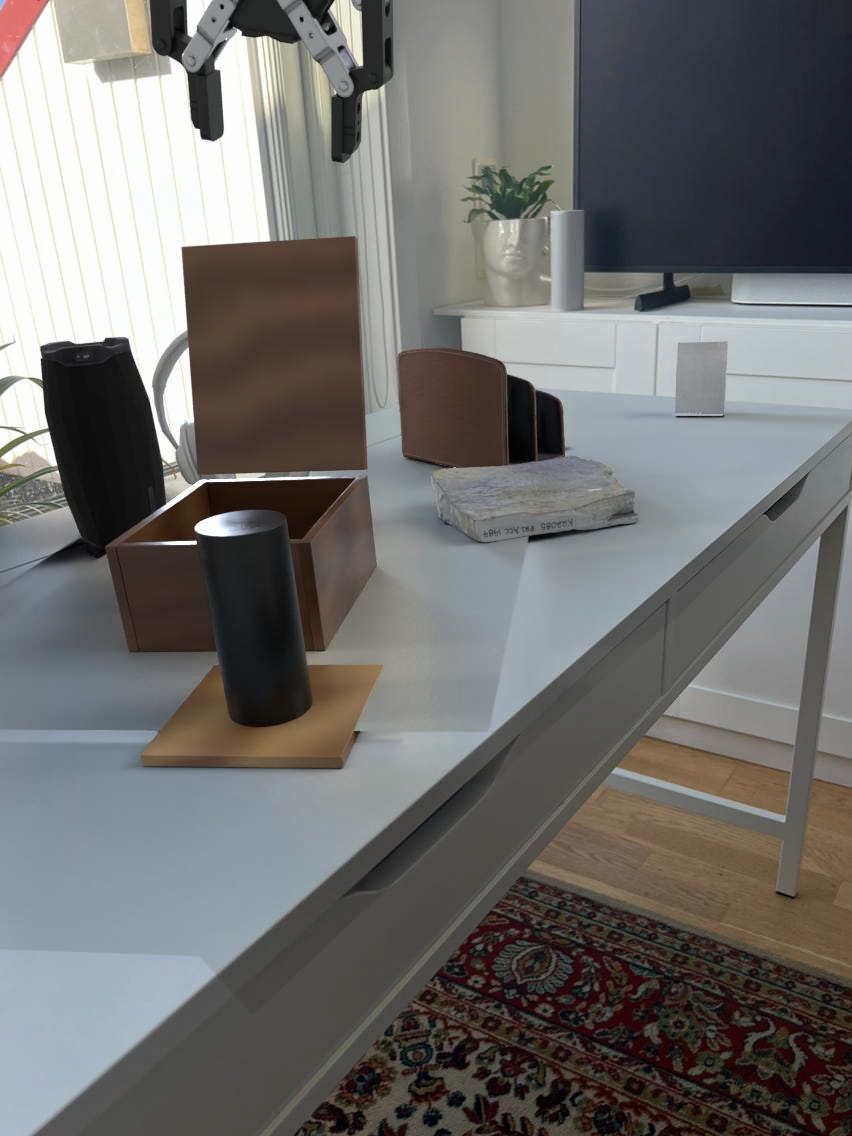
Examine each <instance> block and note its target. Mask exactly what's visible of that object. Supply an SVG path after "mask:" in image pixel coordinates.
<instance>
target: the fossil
mask: <svg viewBox="0 0 852 1136" xmlns="http://www.w3.org/2000/svg"><path fill="white" fill-rule="evenodd" d="M613 473H614V470H613V469H612V468H611V467H609V466H607V465H606V464H603V463H601V462H600V461H599V462H598V461H595V460H592V459H587V458H582V457H578V456H577V455H567V456H565V457H562V458H557V459H551V460H544V461H538V462H528V463H522V464H514V465H506V466H486V467H467V468H451V467H447V468H440V469H436V470H432V471H430V474H429V477H430V482H431V485H432V488H433V489H432V490H433V494H434V495H435V504H436V511H437V512H438V518H439V519H440V520H441V521H443V522H445V523H446V524H449V525H450V526H451V527H454V528H455V529H456V530H458V531H459V532H461V533H464V534H465V535H466V536H467V537H469V538H471V539H472V540H475V541H476V542H479V543H492V542H501V541H506V540H511V539H516V538H524V537H531V536H538V535H544V534H556V533H562V532H568V531H572V530H576V531H588V530H589V531H590V530H598V529H601V528H609V527H613V526H618V525H629V524H635V523H638V522H639V518H640V515H639V514H638V513H636V512H635V498H636V491H635V490H634V489H627V488H624V487H623V486H621V485H620V484H619V480H618V479H617V478H616V477H615V476H613Z"/></svg>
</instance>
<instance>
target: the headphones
mask: <svg viewBox="0 0 852 1136" xmlns="http://www.w3.org/2000/svg"><path fill="white" fill-rule="evenodd" d="M188 349H189V346H188V333H187V328H185V329H184V330H182V332H180V333H179V334H177V336H176V337H174V339H172V341H171V342H170V343H169V344H168V346H167V347H166V348H165V350H164V351H163V353H162V354H161V356H160V358H159V360H158V362H157V364H156V365H155V366H156V368H154V369H155V370H154V373H153V375H152V381H151V388H152V392H153V403H154V409H155V413H156V416H157V421H158V424H159V427H160V429H161V432H162V434H163V435H164V436H165V437H166V439H167V440H168V442H169V443H170V444H171V446H172V447H173V448H174V449H175V452H174V454H175V461H176V464H177V468H178V470H179V472H180V474H181V477H182V478H183V480H184V481H185V482H186V483H187V484H188V485H191V486H193V485H194V484H196V483H197V482H199V481H200V480H223V479H237V474H210V475H198V470H197V457H196V443H195V429H194V417H193V418H189V419H188V420H186V419H185V420H182V421H181V422H180V423H181V424H180V427H179V441H178V442H179V444H178V443H177V440H176V439H175V438H174V436H173V434H172V432H171V431H170V430H171V429H170V427H169V425H168V421H167V418H166V411H165V404H164V395H165V390H166V388H167V384H168V380H169V378H170V376H171V373H172V372H173V370H174V367H175V366H176V364H177V362H178V360H179V359H180V358H181V357H182V355H183V354H184V353H185V351H187V350H188ZM310 474H311V471H310V472H276V473H264V477H263V478H291V477H310Z"/></svg>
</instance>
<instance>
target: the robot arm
mask: <svg viewBox="0 0 852 1136" xmlns="http://www.w3.org/2000/svg"><path fill="white" fill-rule="evenodd" d="M335 1H336V0H211V1H210V3H209V5H207V8H206V10H205V11H204V13H203V14H202V16H201V18H200V19H199V21H198V23H197V25H196V31H195V32H194V33H193V36H190V34H189V32H188V31H189V30H188V29H189V28H188V0H149V14H150V31H151V45H152V48H153V50H154V52H155V53H156V54H158V56H161V57H166V56H167V57H169V58H170V59H173V60H174V61H176V62H177V63H178V64H180V65H181V66H182V67H183V69H184V70H185V73H186V76H187V86H188V99H189V111H190V120H191V123H192V125H193V127H194V129H196V130H199V136H200V139H201V140H202V141H207V142H212V143H215V142H216V141H218V140H219V139H221V138H222V137H223V136H224V132H225V122H224V121H225V120H224V107H223V105H224V104H223V92H222V91H223V90H222V75H221V74H222V73H221V69H216V65H215V63H216V61H217V60H218V59H219V57H220V55H221V54H222V52H223V50H224V49H225V47H226V46H227V45H228V43H229V41H231V39H232V38H233V37H235V35H236V33H237V32H240V33H241V37H246V38H253V39H257V38H262V37H268V38H270V39H272V40H275V41H277V42H278V43H283V44H291V45H294V44H295V43H298V42H301V41H302V42H303V44H304V47H305V48H306V49H307V51H308V53H309V54H310V56H311V58H312V59H313V60H314V61H315V62H316V63H318V65H319V66H320V68H321V69H322V70H323V73H324V74H325V76H326V78H327V79H328V81H329V82H330V84H331V86H332V88H333V90H334V91H335V94H334V95H332V96H331V97H330V99H331V102H330V103H331V106H330V107H331V108H330V109H331V110H330V111H331V113H330V115H331V120H330V121H331V123H330V125H331V127H330V128H331V129H330V131H331V132H330V133H331V134H330V138H331V139H330V147H331V149H330V150H331V151H330V155H331V156H330V157H331V161H332V162H334V163H340V164H345V163H346V162H347V161H349V159H351V157H352V155H353V154H354V153H355V152H357V150H358V149H359V148H360V145H361V142H362V119H363V96H364V93H365V92H369V91H376V90H377V91H378V90H380V89H381V88H382V87H383V86H385V85H386V84H387V83H388V82H390V81H392V79H393V77H394V74H395V73H394V71H395V70H394V69H395V67H394V66H395V63H394V0H351V4H352V6H353V8H354V9H355V10H356V11H358V12H361V41H362V45H361V47H362V65H359V63H358V61H357V59H356V58H355V56H354V54H353V53H352V51H351V49H350V48H349V47H350V46H349V45H348V40H347V37H346V34H345V33H344V31H343V29H342V28H341V26H340V24H339V22H338V20H337V18H336V16H335V15H334V13H333V12H332V10H331V7H332V6H333V4H334V2H335Z"/></svg>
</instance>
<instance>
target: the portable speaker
mask: <svg viewBox="0 0 852 1136" xmlns="http://www.w3.org/2000/svg"><path fill="white" fill-rule="evenodd" d="M39 350H40V355H41V357H40V370H41V383H42V385H41V386H42V395H43V408H44V415H45V421H46V424H47V428H48V432H49V437H50V441H51V446H52V449H53V453H54V457H55V462H56V466H57V470H58V475H59V480H60V484H61V488H62V491H63V494H64V495H63V497H64V499H65V500H66V503H67V506H68V508H69V511H70V512H71V515H72V518H73V520H74V523H75V525H76V527H77V530H78V532H79V535H80V538H81V539H83V543H84V546H85V551H86V554H88V555H90V556H92V557H94V558H101V557H104V556H105V553H106V549H105V546H106V545H108V544H109V543H111V542H112V541H114V540H115V539H117V538H118V537H119V536H121V535H122V534H124V533H125V532H127V531H128V530H129V529H131V528H132V527H134V526H135V525H137V524H138V523H140V522H141V521H142V520H144V519H145V518H147V517H148V516H150V515H151V514H153V513H154V512H155V511H157V510H158V509H160V508H161V507H163V506H164V505H166V504H167V497H166V496H167V495H166V485H165V473H164V462H163V457H162V454H161V448H160V443H159V438H158V433H157V429H156V424H155V423H156V422H155V419H154V414H153V410H152V405H151V404H152V403H151V400H150V396H149V394H148V392H147V389H146V386H145V384H144V381H143V379H142V376H141V374H140V371H139V368H138V365H137V363H136V361H135V358H134V355H133V352H132V348H131V343H130V339H129V338H128V337H126V336H115V337H114V336H113V337H110V336H109V337H105V338H104V339H103V341H94V342H93V341H92V342H84V343H75V342H73V341H70V340H63V341H54V342H53V341H52V342H47V343H45V344H43V345H40V346H39Z"/></svg>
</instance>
